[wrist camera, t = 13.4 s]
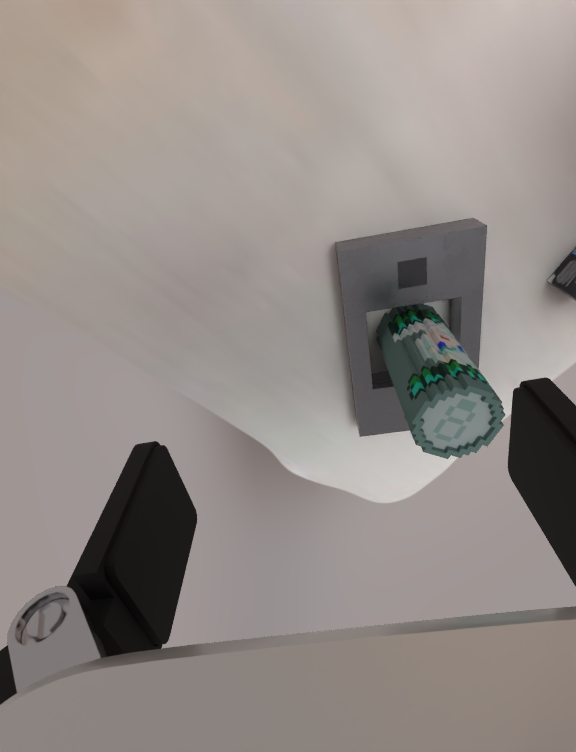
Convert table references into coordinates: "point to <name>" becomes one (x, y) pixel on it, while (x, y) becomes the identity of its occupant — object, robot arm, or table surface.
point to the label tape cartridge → (566, 276)
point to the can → (437, 383)
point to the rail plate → (408, 300)
